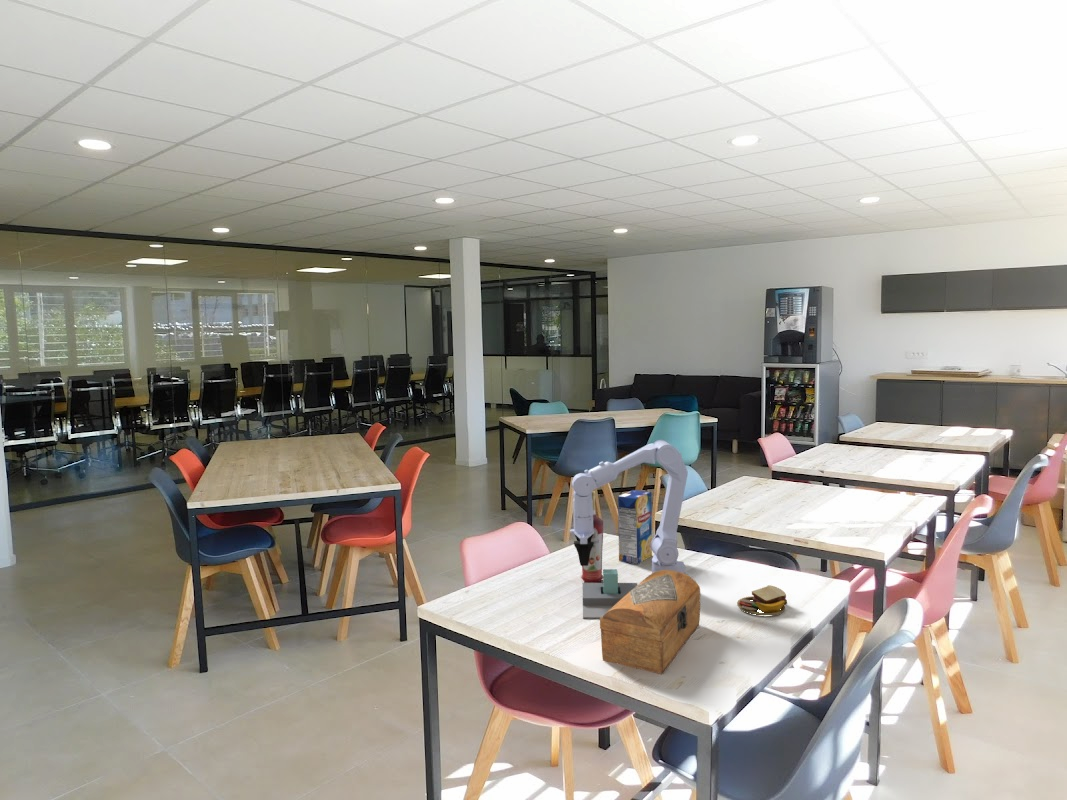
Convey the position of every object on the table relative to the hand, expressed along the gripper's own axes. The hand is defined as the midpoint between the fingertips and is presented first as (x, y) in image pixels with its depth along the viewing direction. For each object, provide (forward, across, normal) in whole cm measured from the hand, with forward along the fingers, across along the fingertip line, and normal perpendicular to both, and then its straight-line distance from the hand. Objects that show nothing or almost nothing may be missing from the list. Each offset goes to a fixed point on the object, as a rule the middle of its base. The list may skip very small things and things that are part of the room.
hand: (584, 561), depth 200 cm
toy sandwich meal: (+11, +9, +48) cm, 50 cm away
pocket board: (+10, +4, +7) cm, 13 cm away
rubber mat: (+10, +14, +3) cm, 17 cm away
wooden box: (+10, +31, +17) cm, 37 cm away
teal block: (+10, +4, +7) cm, 13 cm away
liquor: (+10, -10, +2) cm, 15 cm away
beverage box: (+10, -32, +17) cm, 38 cm away
